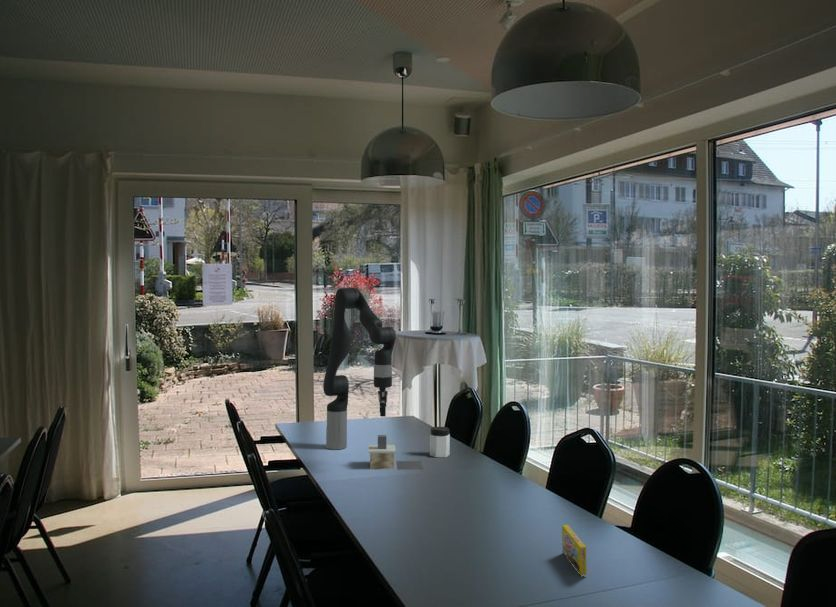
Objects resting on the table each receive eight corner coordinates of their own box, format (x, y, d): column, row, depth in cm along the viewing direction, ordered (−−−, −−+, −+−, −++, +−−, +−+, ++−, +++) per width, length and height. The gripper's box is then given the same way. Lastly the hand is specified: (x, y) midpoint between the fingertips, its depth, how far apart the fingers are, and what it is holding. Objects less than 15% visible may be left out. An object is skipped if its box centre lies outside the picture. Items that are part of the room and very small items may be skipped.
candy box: (561, 553, 198) (561, 524, 198) (568, 553, 198) (569, 524, 198) (579, 577, 182) (579, 546, 181) (587, 577, 182) (587, 546, 182)
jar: (453, 455, 307) (453, 429, 306) (439, 458, 302) (439, 431, 301) (439, 452, 314) (440, 425, 313) (426, 454, 308) (426, 427, 308)
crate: (370, 469, 283) (370, 452, 282) (370, 463, 292) (370, 447, 292) (393, 469, 283) (394, 452, 283) (392, 463, 293) (393, 447, 293)
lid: (368, 455, 282) (368, 439, 281) (368, 449, 293) (368, 433, 292) (395, 455, 282) (395, 438, 282) (394, 449, 293) (394, 433, 293)
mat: (397, 470, 282) (397, 469, 282) (396, 462, 295) (396, 461, 295) (423, 470, 282) (423, 469, 282) (420, 462, 295) (420, 460, 295)
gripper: (373, 373, 293) (373, 411, 294) (374, 377, 279) (373, 417, 280) (391, 373, 294) (390, 411, 294) (392, 377, 280) (392, 417, 280)
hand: (382, 414), depth 287 cm, fingers open, 8 cm apart
